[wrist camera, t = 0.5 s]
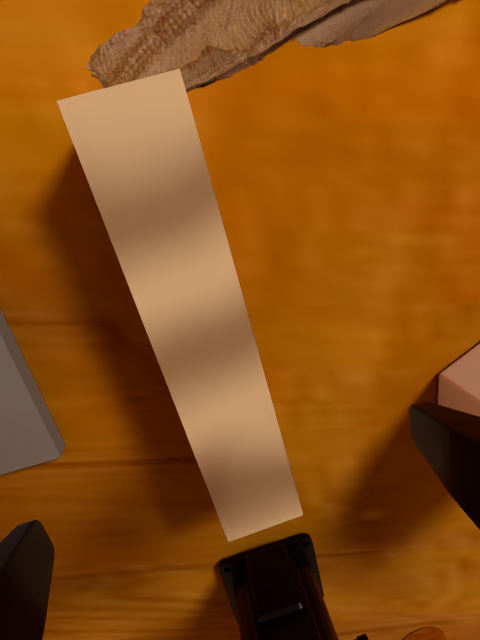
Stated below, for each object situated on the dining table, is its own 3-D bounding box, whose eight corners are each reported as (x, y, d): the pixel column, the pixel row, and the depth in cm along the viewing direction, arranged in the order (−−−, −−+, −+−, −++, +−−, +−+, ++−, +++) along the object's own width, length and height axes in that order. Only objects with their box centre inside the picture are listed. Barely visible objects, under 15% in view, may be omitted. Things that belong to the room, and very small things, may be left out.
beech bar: (277, 451, 24) (303, 515, 19) (216, 472, 24) (228, 542, 19) (177, 102, 17) (180, 68, 12) (88, 126, 16) (56, 101, 12)
